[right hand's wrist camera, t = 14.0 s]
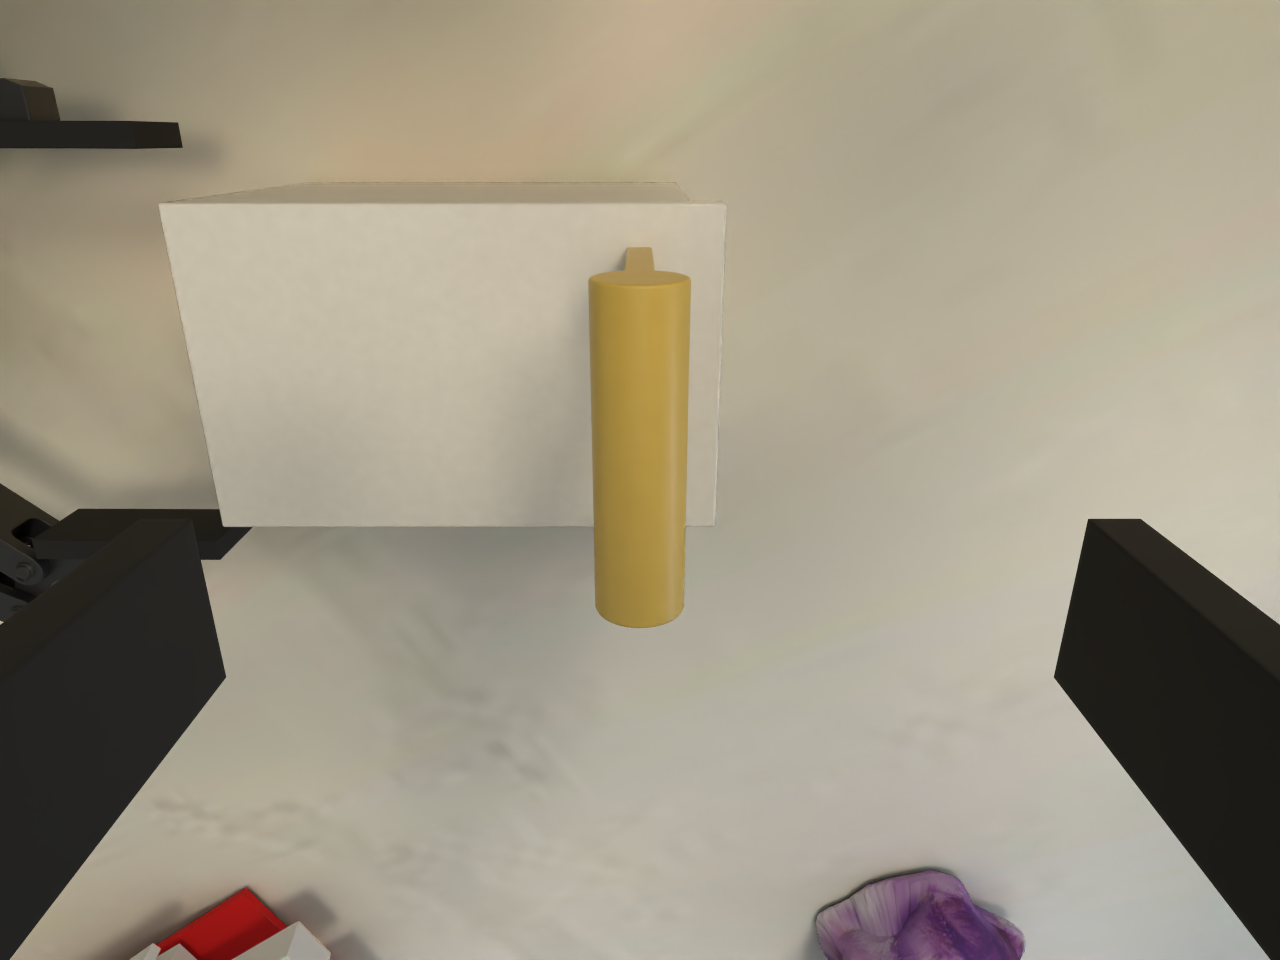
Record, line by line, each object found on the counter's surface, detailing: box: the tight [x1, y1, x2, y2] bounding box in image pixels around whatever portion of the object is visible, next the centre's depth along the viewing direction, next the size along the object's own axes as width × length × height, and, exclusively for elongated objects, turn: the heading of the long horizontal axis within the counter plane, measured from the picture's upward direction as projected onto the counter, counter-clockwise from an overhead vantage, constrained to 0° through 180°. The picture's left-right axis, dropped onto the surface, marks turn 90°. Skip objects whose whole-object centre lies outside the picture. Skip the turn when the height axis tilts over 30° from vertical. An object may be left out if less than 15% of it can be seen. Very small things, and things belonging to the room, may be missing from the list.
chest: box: [177, 183, 691, 201], centre depth 30 cm, size 14×10×10 cm, turn 90°
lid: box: [158, 201, 727, 628], centre depth 21 cm, size 15×10×8 cm, turn 90°
